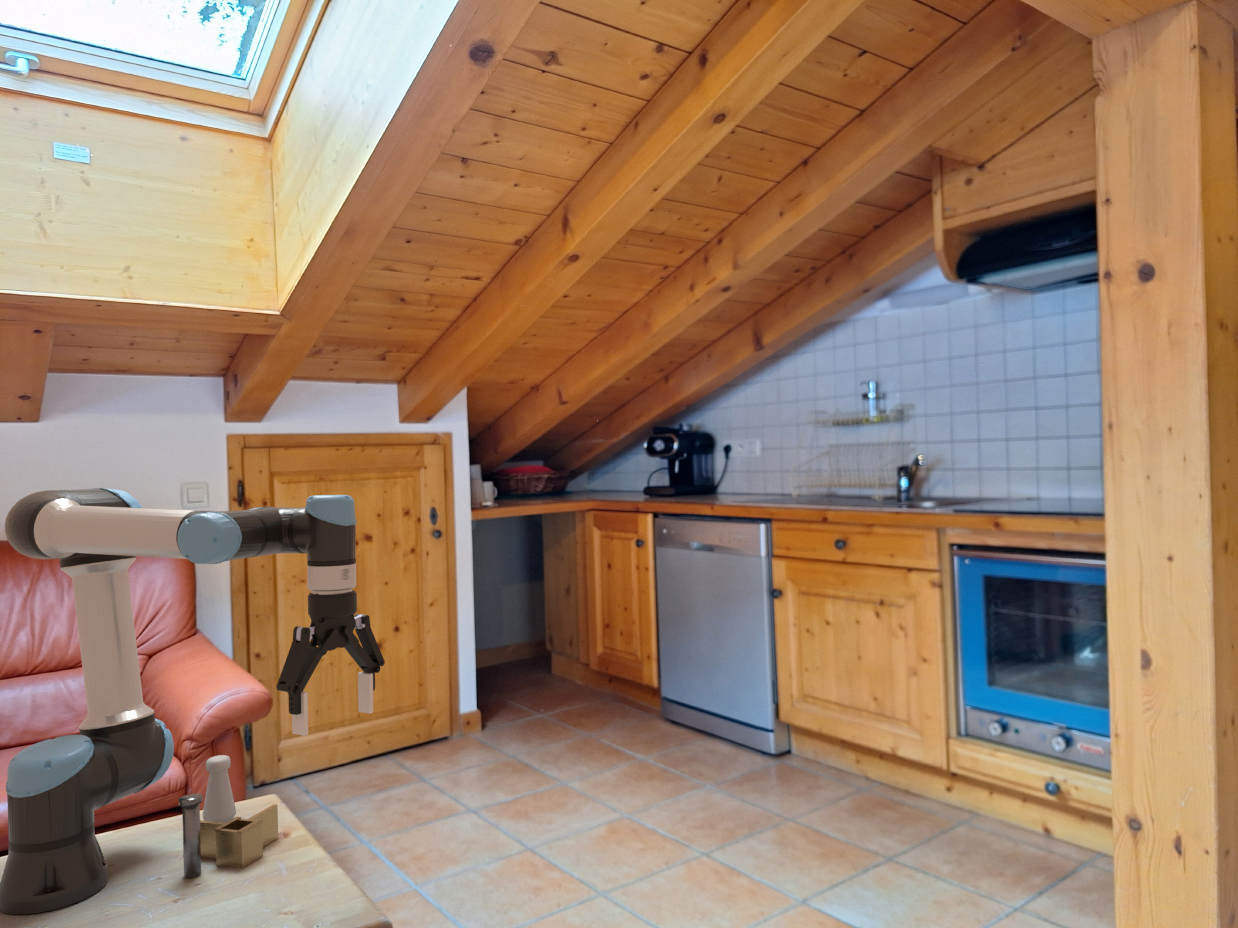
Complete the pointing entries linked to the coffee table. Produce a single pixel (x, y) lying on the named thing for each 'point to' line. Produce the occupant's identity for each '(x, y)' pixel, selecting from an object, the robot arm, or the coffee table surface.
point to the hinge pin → (191, 834)
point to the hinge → (239, 838)
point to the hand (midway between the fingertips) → (334, 722)
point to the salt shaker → (218, 791)
